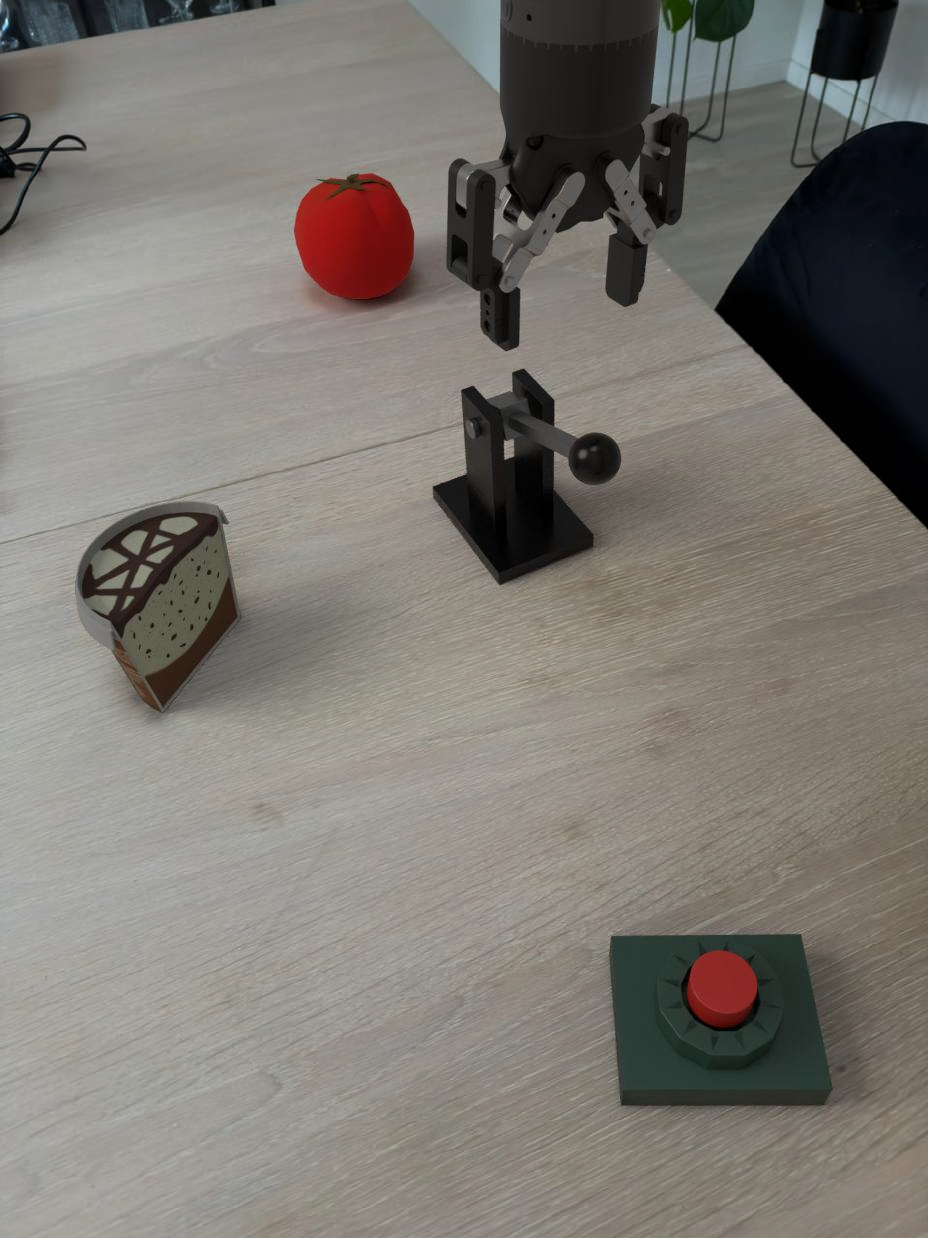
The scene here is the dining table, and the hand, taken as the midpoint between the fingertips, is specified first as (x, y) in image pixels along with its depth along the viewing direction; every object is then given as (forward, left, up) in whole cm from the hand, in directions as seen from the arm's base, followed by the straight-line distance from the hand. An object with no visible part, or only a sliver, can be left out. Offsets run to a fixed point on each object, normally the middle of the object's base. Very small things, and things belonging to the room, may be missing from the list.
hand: (563, 321), depth 63 cm
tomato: (+42, -16, -22) cm, 50 cm away
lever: (+1, -1, -11) cm, 11 cm away
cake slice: (+15, +24, -22) cm, 36 cm away
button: (-28, +18, -18) cm, 38 cm away
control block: (-28, +18, -22) cm, 39 cm away
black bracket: (+7, -2, -22) cm, 23 cm away
